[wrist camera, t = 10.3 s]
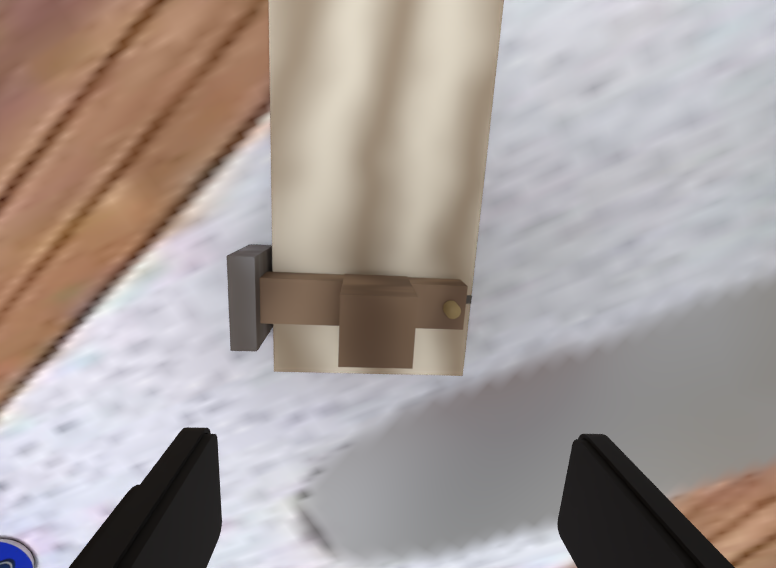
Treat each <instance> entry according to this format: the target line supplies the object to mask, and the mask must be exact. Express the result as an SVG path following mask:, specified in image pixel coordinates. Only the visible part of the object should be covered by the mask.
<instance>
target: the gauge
mask: <svg viewBox="0 0 776 568" xmlns="http://www.w3.org/2000/svg"><path fill="white" fill-rule="evenodd" d="M227 274H228V298H229V322H230V346H231V351H257V350H258V349H259V347H260V346H261V344H262V343H263V341H264V340H265V338H266V336H267V335H268V333H269V332H270V330H271V329H272V327H273V324H295V325H327V326H339V352H338V367H360V368H402V369H413V356H414V343H415V330H416V328H423V329H454V330H463V326H464V317H465V308H466V298H467V289H468V286H467V285H466V284H465V283H464V282H463V281H462V280H460V279H438V278H414V277H407V276H387V275H363V274H344V275H341V274H317V273H293V272H273V269H272V246H270V245H248V246H246V247H244V248H242V249H240V250H238V251H236V252H234V253H232V254H230V255H228V256H227Z"/></svg>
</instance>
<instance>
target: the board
mask: <svg viewBox="0 0 776 568" xmlns="http://www.w3.org/2000/svg"><path fill="white" fill-rule="evenodd" d="M503 3H504V0H269V56H270V127H271V198H272V269H273V272H293V273H317V274H341V275H344V274H363V275H387V276H407V277H414V278H438V279H460V280H462V281H463V282H464V283H465V284H466V285H467V286H468V289H467V298H466V308H465V317H464V326H463V330H454V329H423V328H416V330H415V343H414V356H413V369H402V368H360V367H338V352H339V326H327V325H295V324H273V340H274V372H319V373H363V374H407V375H451V376H463V367H464V358H465V349H466V340H467V330H468V321H469V312H470V304H471V298H472V296H471V294H472V285H473V276H474V267H475V258H476V249H477V240H478V230H479V221H480V212H481V203H482V194H483V185H484V176H485V167H486V158H487V149H488V140H489V130H490V121H491V112H492V103H493V94H494V85H495V76H496V67H497V58H498V49H499V40H500V30H501V21H502V12H503Z"/></svg>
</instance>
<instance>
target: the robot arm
mask: <svg viewBox="0 0 776 568" xmlns="http://www.w3.org/2000/svg"><path fill="white" fill-rule="evenodd" d="M221 526H222V514H221V496H220V478H219V460H218V441H217V436H216V434H211V433H210V430H209V429H208V428H183V429H182V430H181V431H180V433H179V434H178V435H177V437H176V438H175V439H174V441H173V442H172V443H171V445H170V446H169V447H168V449H167V450H166V451H165V452H164V454H163V455H162V456H161V458H160V459H159V460H158V462H157V463H156V464H155V466H154V467H153V468H152V470H151V471H150V472H149V474H148V475H147V476H146V477H145V479H144V480H143V481H142V483H141V484H140V485H136V486H134V487H132V488H131V489H130V490H129V491H128V492H127V494H126V495H125V496H124V498H123V499H122V500H121V501H120V503H119V504H118V505H117V506H116V508H115V509H114V510H113V512H112V513H111V514H110V515H109V517H108V518H107V519H106V521H105V522H104V523H103V524H102V526H101V527H100V528H99V530H98V531H97V532H96V533H95V535H94V536H93V537H92V538H91V540H90V541H89V542H88V544H87V545H86V546H85V547H84V549H83V550H82V551H81V553H80V554H79V555H78V556H77V558H76V559H75V560H74V561H73V563H72V564H71V565H70V567H69V568H206V567H207V565H208V563H209V560H210V558H211V555H212V553H213V551H214V548H215V546H216V544H217V541H218V539H219V536H220V532H221ZM558 531H559V534H560V537H561V539H562V541H563V543H564V544H565V546H566V548H567V550H568V552H569V553H570V555H571V557H572V559H573V561H574V562H575V564H576V566H577V568H734V566H733V565H732V564H731V563H730V562H729V561H728V560H727V559H726V558H725V557H724V556H723V555H722V554H721V553H720V552H719V551H718V550H717V549H716V548H715V547H714V546H713V545H712V544H711V543H710V542H709V541H708V540H707V539H706V538H705V537H704V536H703V535H702V534H701V532H700V531H699V530H698V529H697V528H696V527H695V526H694V525H693V524H692V523H691V522H690V521H689V520H688V519H687V518H686V517H685V516H684V515H683V514H682V513H681V512H680V511H679V510H678V509H677V508H676V507H675V506H674V505H673V504H672V503H671V502H670V501H669V500H668V498H667V497H666V496H665V495H664V494H663V493H662V492H661V491H660V490H659V489H658V488H657V487H656V486H655V485H654V484H653V483H652V482H651V481H650V480H649V479H648V478H647V477H646V476H645V475H644V474H643V473H642V472H641V471H640V470H639V469H638V468H637V467H636V466H635V464H634V463H633V462H632V461H631V460H630V459H629V458H628V457H626V455H625V454H624V453H623V452H622V451H621V450H620V449H619V448H618V447H617V446H616V445H615V444H614V443H613V442H612V441H611V440H610V439H609V438H608V437H607V436H606V435H603V434H581V435H580V436H579V438H578V439H576V440H574V442H573V444H572V450H571V455H570V460H569V466H568V470H567V475H566V481H565V486H564V491H563V496H562V502H561V506H560V512H559V517H558Z"/></svg>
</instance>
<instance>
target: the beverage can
mask: <svg viewBox="0 0 776 568" xmlns="http://www.w3.org/2000/svg"><path fill="white" fill-rule="evenodd" d="M0 568H34V559H33V556H32V554H31V552H30V551H29V550H28V549H27V548H26V547H25V546H24V545H22V544H21V543H19V542H16V541H13V540H9V539H0Z"/></svg>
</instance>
